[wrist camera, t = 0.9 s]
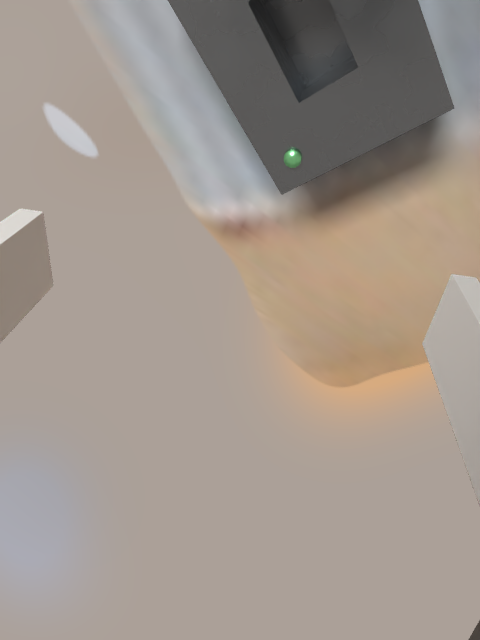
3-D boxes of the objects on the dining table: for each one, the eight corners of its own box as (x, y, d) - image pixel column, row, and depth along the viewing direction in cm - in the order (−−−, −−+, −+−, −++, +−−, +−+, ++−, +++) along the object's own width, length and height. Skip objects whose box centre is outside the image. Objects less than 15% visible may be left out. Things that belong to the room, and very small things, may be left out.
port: (344, -200, 25) (340, -228, 20) (441, 82, 32) (455, 109, 28) (174, -47, 30) (141, -42, 26) (290, 162, 38) (281, 196, 33)
